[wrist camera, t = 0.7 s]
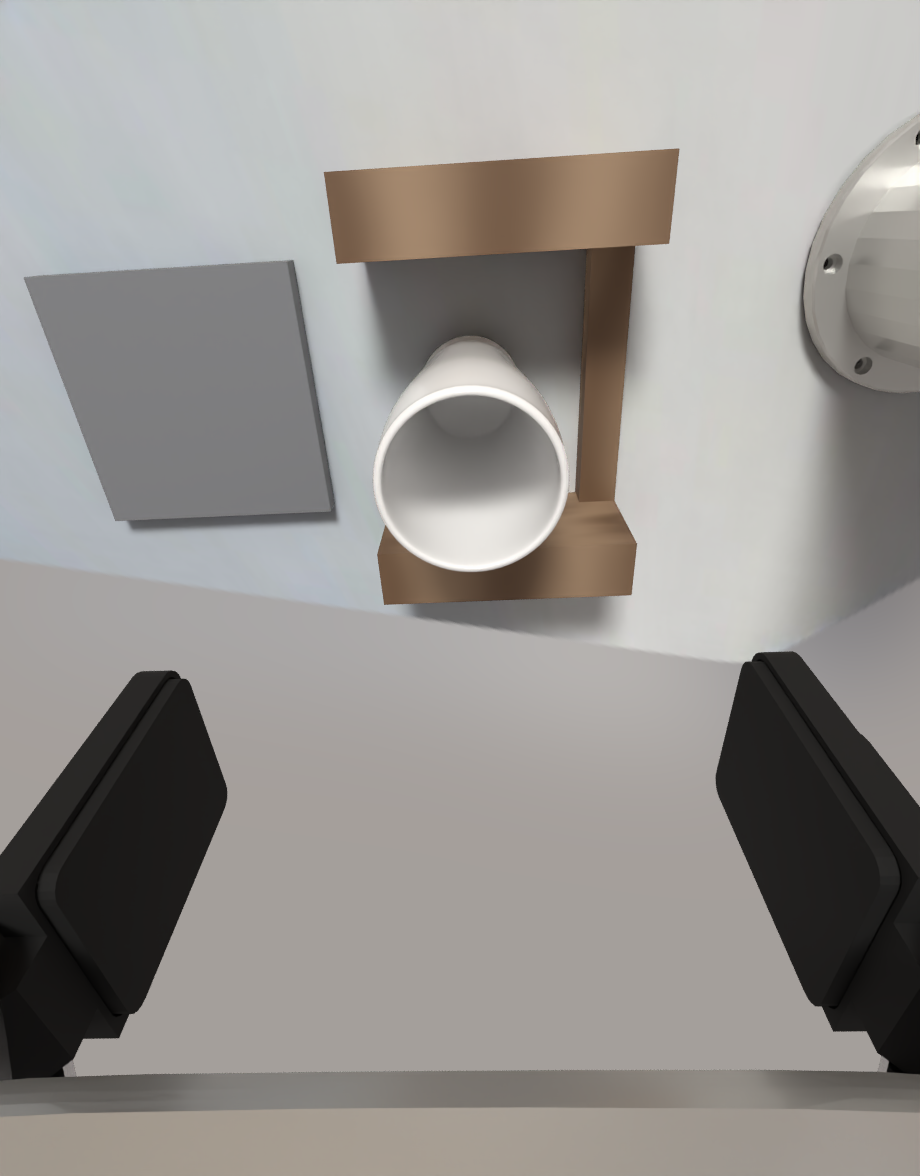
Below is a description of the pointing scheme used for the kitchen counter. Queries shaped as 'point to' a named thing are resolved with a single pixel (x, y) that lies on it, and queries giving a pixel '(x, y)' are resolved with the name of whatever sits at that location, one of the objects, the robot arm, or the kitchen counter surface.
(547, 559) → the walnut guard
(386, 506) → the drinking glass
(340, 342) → the kitchen counter surface
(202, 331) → the slate board
